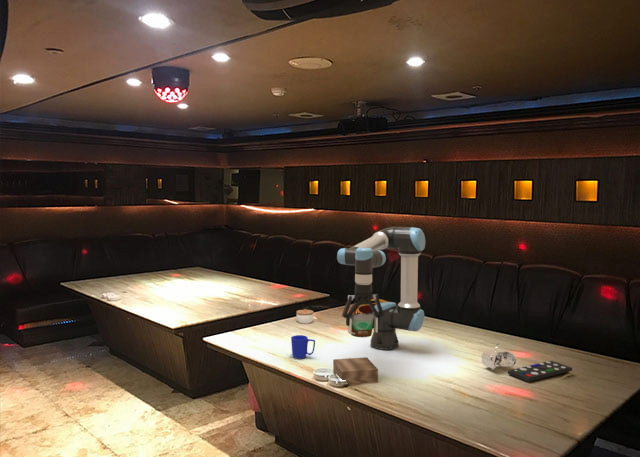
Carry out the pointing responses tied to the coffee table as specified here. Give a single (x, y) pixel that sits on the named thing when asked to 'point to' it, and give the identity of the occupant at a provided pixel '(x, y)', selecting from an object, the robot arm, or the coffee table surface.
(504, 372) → the coffee table surface
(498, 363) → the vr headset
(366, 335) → the food container
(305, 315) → the lidded jar
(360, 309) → the decorative basket
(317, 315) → the coffee table surface
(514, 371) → the remote control
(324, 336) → the coffee table surface
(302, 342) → the mug
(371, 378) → the walnut riser
